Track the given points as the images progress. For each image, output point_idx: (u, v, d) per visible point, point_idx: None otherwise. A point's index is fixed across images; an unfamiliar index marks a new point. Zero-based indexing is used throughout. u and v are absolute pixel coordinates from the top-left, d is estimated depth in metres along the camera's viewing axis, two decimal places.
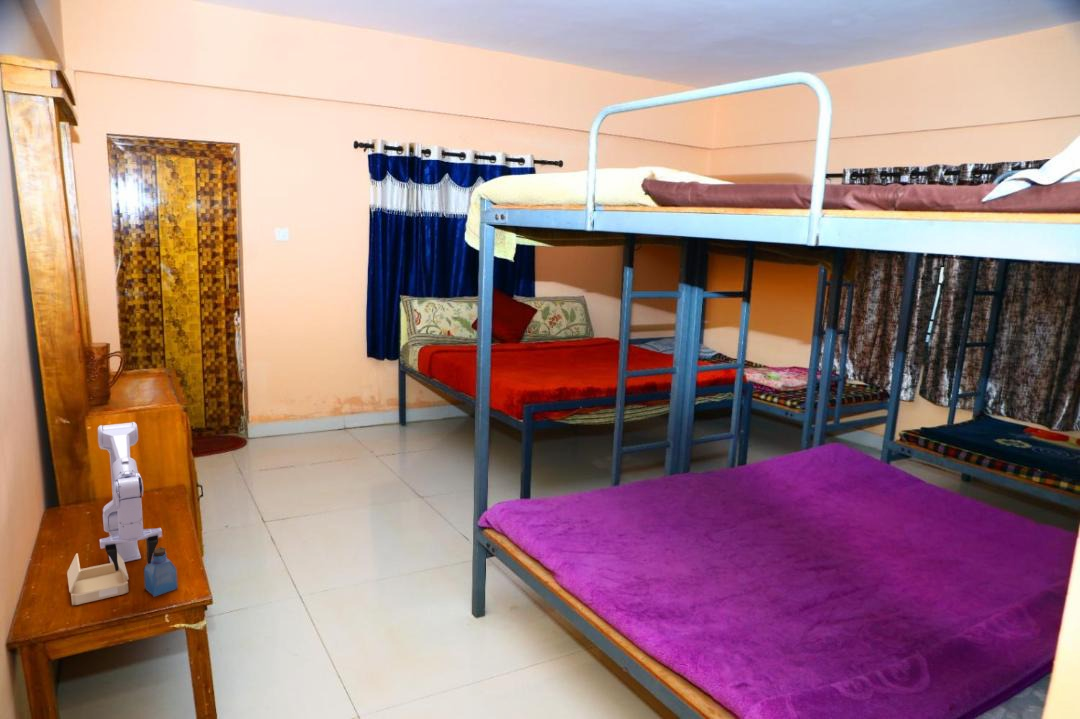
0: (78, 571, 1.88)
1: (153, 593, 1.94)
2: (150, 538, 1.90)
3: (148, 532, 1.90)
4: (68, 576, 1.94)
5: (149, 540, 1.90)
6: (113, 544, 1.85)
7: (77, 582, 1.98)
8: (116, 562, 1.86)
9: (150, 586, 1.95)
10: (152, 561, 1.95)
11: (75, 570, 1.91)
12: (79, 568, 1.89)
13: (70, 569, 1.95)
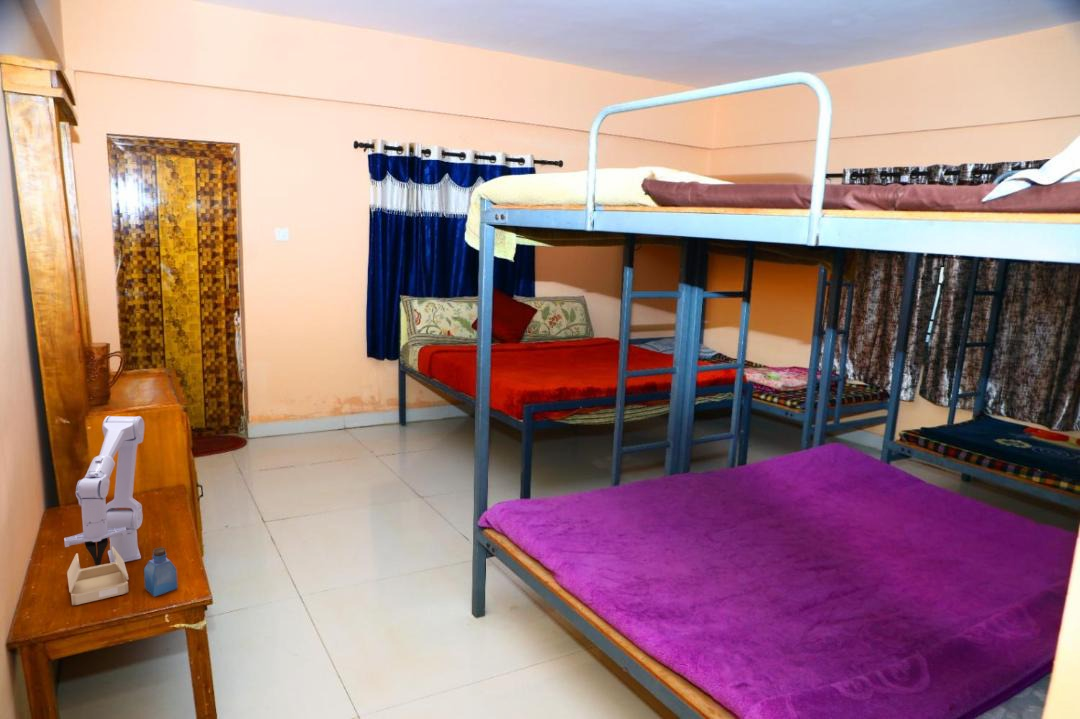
0: (78, 571, 1.88)
1: (153, 593, 1.94)
2: (114, 537, 1.96)
3: (112, 531, 1.96)
4: (68, 576, 1.94)
5: (99, 542, 1.93)
6: None
7: (77, 582, 1.98)
8: (95, 557, 1.93)
9: (149, 586, 1.95)
10: (152, 561, 1.95)
11: (75, 570, 1.91)
12: (79, 568, 1.89)
13: (70, 569, 1.95)
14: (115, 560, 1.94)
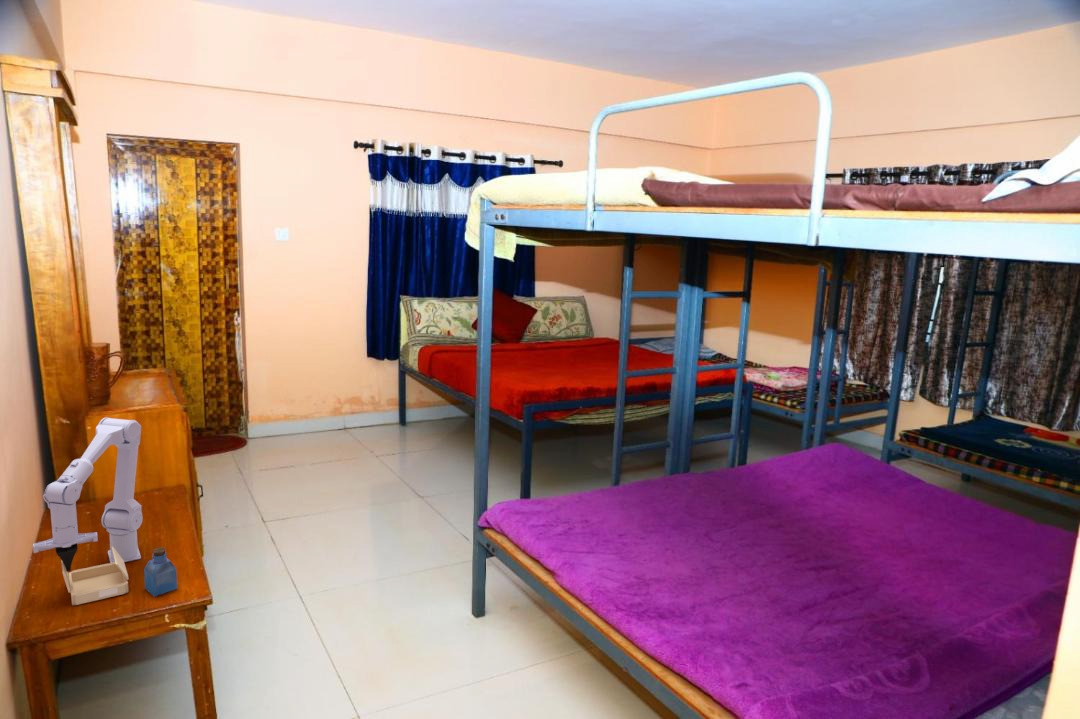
0: None
1: (153, 593, 1.94)
2: None
3: (83, 536, 1.91)
4: None
5: (68, 547, 1.89)
6: None
7: (77, 582, 1.98)
8: (66, 563, 1.89)
9: (149, 586, 1.95)
10: (152, 561, 1.95)
11: None
12: (63, 570, 1.87)
13: None
14: (115, 560, 1.94)
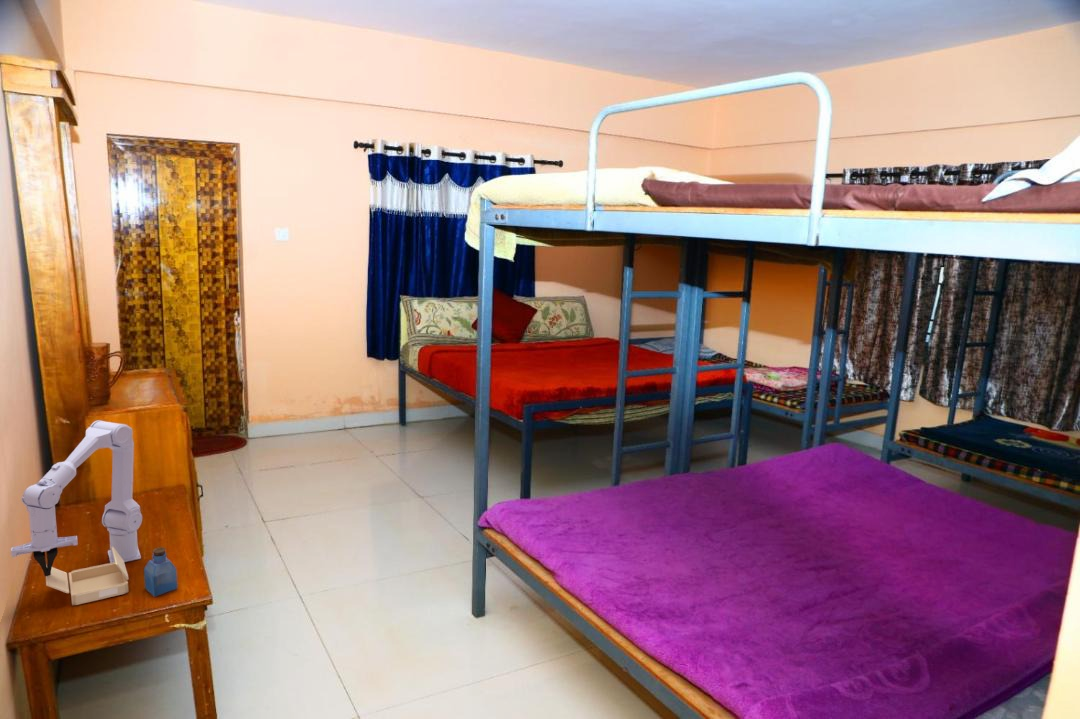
0: None
1: (153, 593, 1.94)
2: None
3: (63, 540, 1.89)
4: None
5: (48, 551, 1.86)
6: None
7: (77, 582, 1.98)
8: (45, 567, 1.86)
9: (149, 586, 1.95)
10: (152, 561, 1.95)
11: None
12: (46, 581, 1.85)
13: None
14: (115, 560, 1.94)
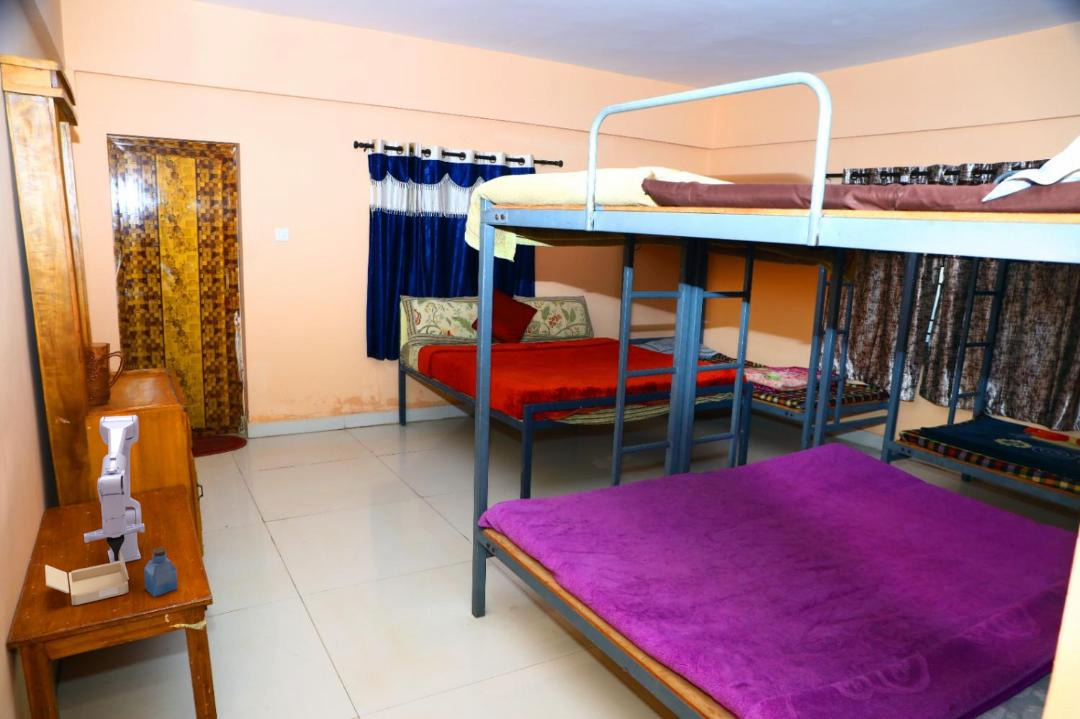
0: None
1: (153, 593, 1.94)
2: (133, 533, 1.98)
3: (131, 527, 1.98)
4: None
5: (115, 538, 1.95)
6: None
7: (77, 582, 1.98)
8: (116, 552, 1.96)
9: (149, 586, 1.95)
10: (152, 561, 1.95)
11: None
12: (46, 581, 1.85)
13: None
14: (120, 558, 1.95)
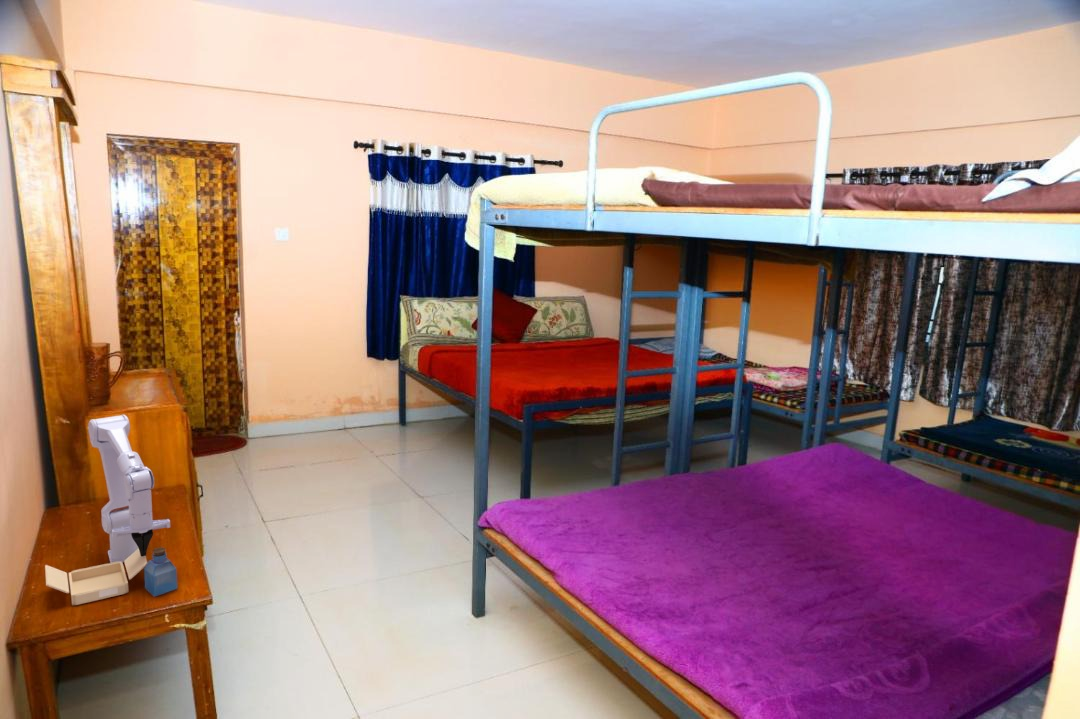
0: None
1: (153, 593, 1.94)
2: None
3: (157, 523, 2.02)
4: None
5: (144, 533, 1.99)
6: (138, 531, 1.99)
7: (77, 582, 1.98)
8: (141, 548, 2.00)
9: (149, 586, 1.95)
10: (152, 561, 1.95)
11: None
12: (46, 581, 1.85)
13: None
14: (146, 559, 1.99)
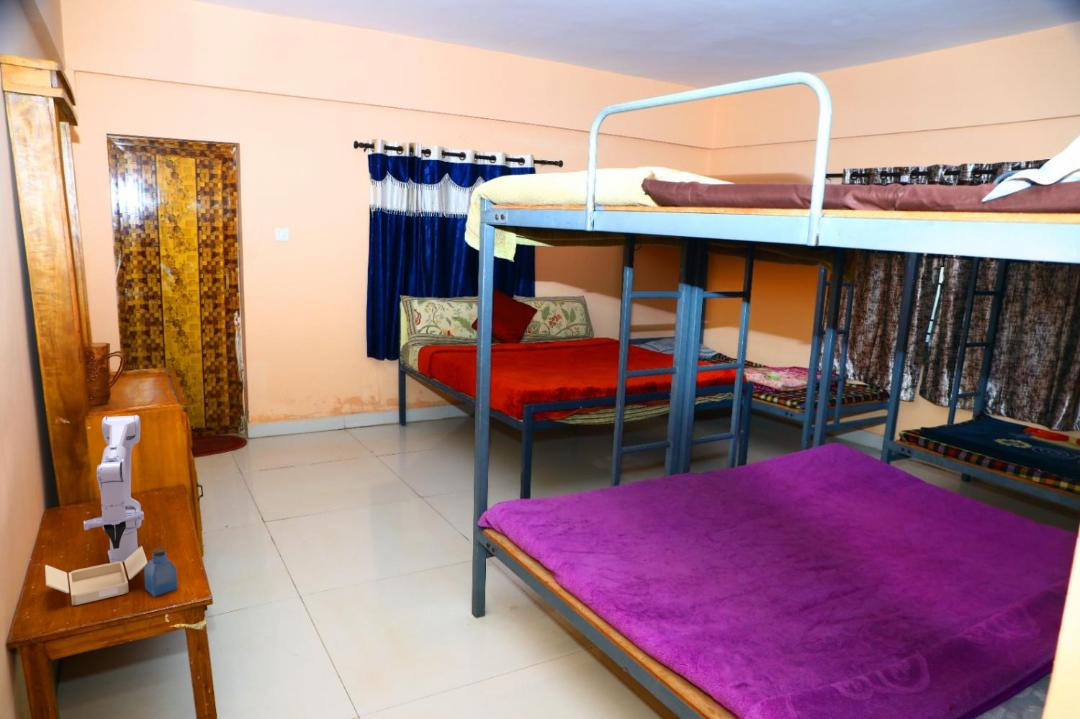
0: None
1: (153, 593, 1.94)
2: (132, 521, 1.99)
3: (130, 515, 1.99)
4: None
5: (117, 525, 1.96)
6: None
7: (77, 582, 1.98)
8: (114, 540, 1.96)
9: (149, 586, 1.95)
10: (152, 561, 1.95)
11: None
12: (46, 581, 1.85)
13: None
14: (146, 559, 1.99)
